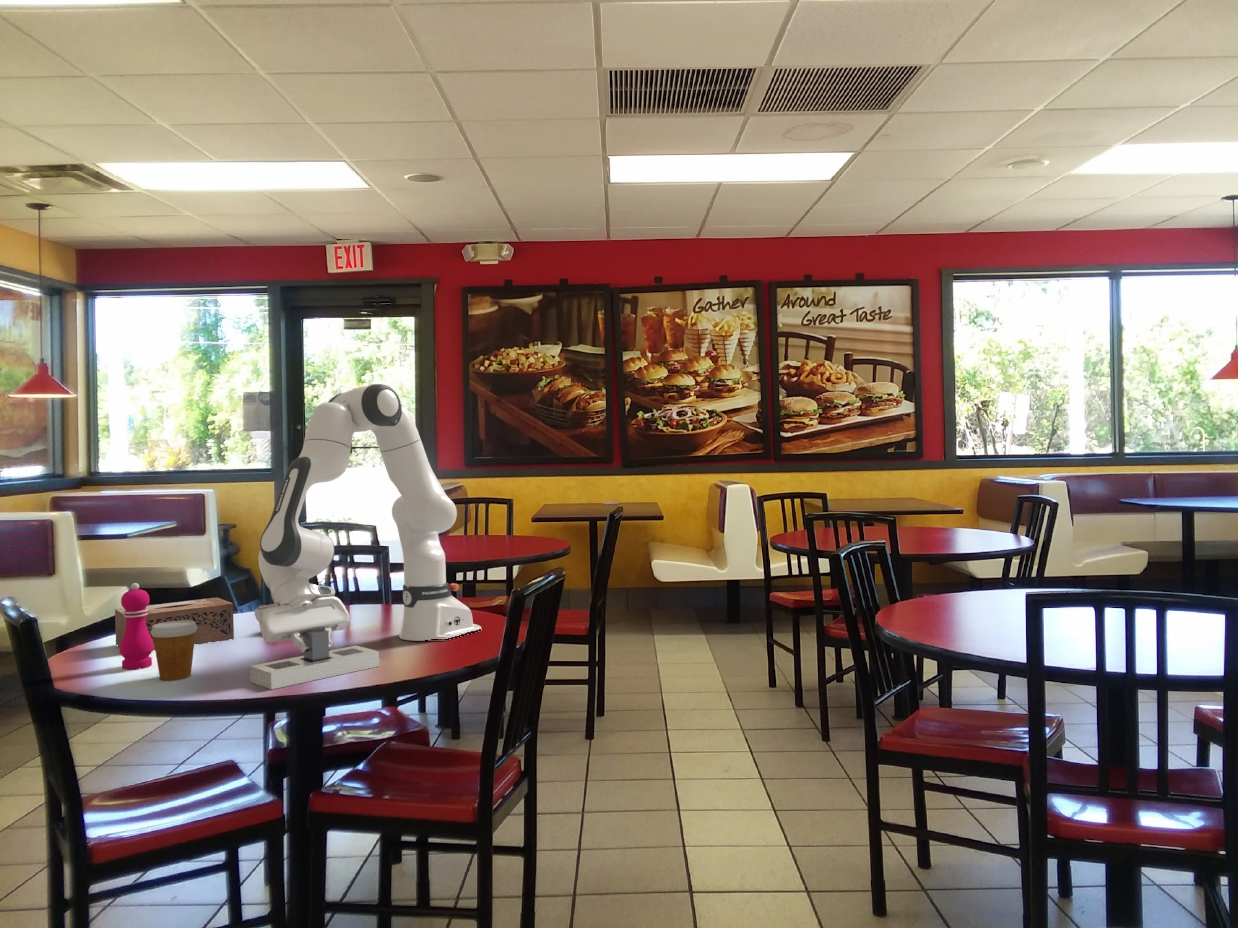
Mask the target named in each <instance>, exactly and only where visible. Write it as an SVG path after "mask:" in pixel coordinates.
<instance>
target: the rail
mask: <svg viewBox="0 0 1238 928" xmlns="http://www.w3.org/2000/svg"><path fill="white" fill-rule="evenodd" d="M377 666H378V667H380V651H379V650H376V649H372V648H367V647H363V646H359V645H351V646H348V647H342V648H337V649H331V650H330V649H329V659H326V660H321V661H316V662H307V661H304V655H301V656H294V657H289V658H284V659H279V660H274V661H269V662H263V663H258V664H253V665H249V672H250V675H249V676H250V677H249V680H250V681H249V682H251V683H252V684H256V685H258V686H261V687H263V688H267V689H269V690H276V689H281V688H285V687H290V686H294V685H299V684H303V683H309V682H313V681H318V680H321V679H327V678H330V677H331V678H332V677H335V676H340V675H345V674H351V673H354V672H359V671H364V670H368V668H369V669H373V668H376V667H377Z"/></svg>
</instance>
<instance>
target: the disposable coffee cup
mask: <svg viewBox="0 0 1238 928" xmlns="http://www.w3.org/2000/svg"><path fill="white" fill-rule="evenodd" d="M197 628H198V627H196V624H195V622H194V621H171V622H164V623H159V624H156V625H153V628H152V631H151V634H152V636H153V639H154V646H155V651H154V652H155V657H156V663H157V668H158V674H159V679H160V680H162V681H178V680H183V679H187V678H189V677H191V676H192V670H193V669H192V666H193V658H194V657H193V656H194V650H195V649H194V647H195V645H194V641H195V632H196V630H197Z"/></svg>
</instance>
